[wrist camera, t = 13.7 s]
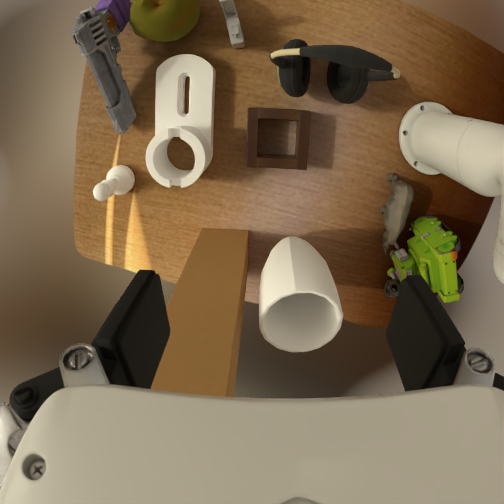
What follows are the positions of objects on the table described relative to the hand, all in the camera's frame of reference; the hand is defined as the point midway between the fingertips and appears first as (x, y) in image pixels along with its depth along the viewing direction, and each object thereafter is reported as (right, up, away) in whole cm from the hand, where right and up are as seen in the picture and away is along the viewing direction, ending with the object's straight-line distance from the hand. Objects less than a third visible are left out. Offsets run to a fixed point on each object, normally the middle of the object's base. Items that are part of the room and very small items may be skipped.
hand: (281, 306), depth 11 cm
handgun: (-21, +38, +29) cm, 52 cm away
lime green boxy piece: (+33, +2, +34) cm, 47 cm away
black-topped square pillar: (-6, +2, +43) cm, 44 cm away
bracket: (-11, +23, +33) cm, 42 cm away
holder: (+3, +20, +34) cm, 39 cm away
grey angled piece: (-3, +36, +26) cm, 44 cm away
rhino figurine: (+22, +9, +38) cm, 45 cm away
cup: (+6, +4, +42) cm, 42 cm away
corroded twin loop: (+27, -3, +44) cm, 52 cm away
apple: (-13, +38, +25) cm, 47 cm away
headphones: (+9, +29, +29) cm, 42 cm away
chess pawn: (-23, +15, +38) cm, 47 cm away
